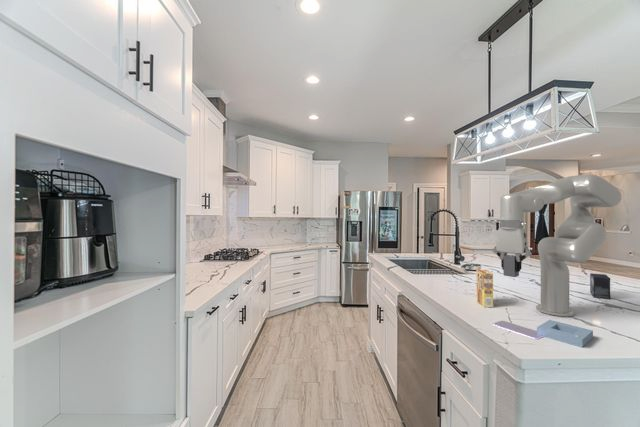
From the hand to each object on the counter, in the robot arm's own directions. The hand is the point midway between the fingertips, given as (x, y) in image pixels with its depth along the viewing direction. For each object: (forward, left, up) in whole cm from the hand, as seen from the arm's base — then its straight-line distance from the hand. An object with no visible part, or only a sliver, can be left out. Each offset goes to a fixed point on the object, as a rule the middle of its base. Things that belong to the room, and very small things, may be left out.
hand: (511, 269), depth 117 cm
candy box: (-8, -14, -19) cm, 25 cm away
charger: (0, 0, -2) cm, 2 cm away
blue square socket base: (+5, +18, -19) cm, 27 cm away
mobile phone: (+12, +7, -20) cm, 24 cm away
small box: (-69, +13, -19) cm, 73 cm away
